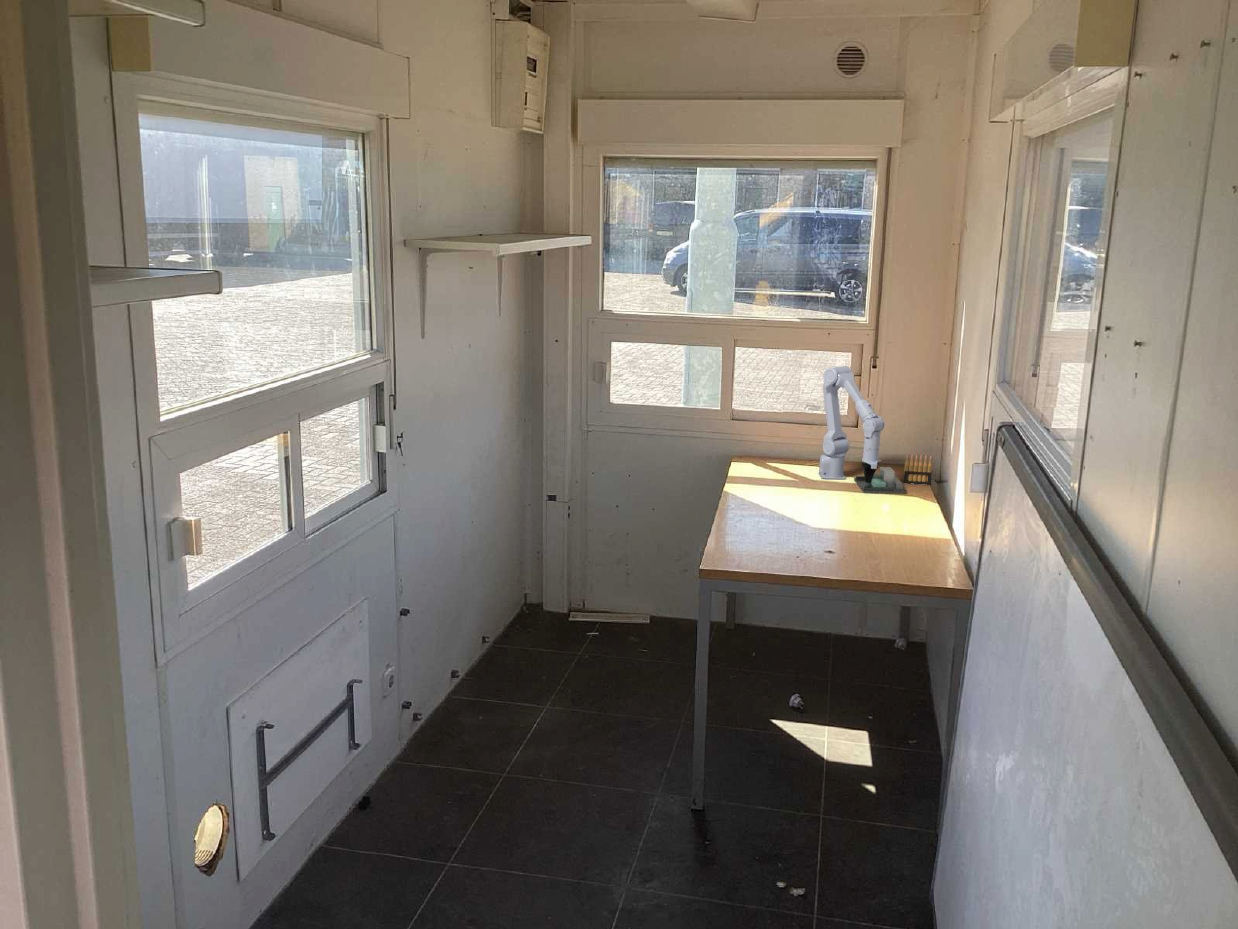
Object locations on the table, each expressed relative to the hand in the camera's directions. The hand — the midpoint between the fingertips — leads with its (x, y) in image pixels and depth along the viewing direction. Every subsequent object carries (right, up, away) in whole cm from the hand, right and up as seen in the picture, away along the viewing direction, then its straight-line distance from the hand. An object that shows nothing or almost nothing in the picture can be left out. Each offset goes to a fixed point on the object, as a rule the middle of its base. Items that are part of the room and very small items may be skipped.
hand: (868, 482), depth 417 cm
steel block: (+7, -1, +1) cm, 7 cm away
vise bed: (+5, -2, 0) cm, 5 cm away
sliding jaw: (+3, -1, 0) cm, 3 cm away
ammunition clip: (+21, -1, +6) cm, 22 cm away
